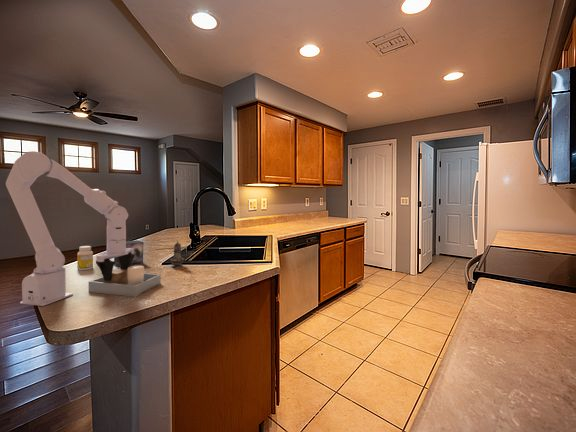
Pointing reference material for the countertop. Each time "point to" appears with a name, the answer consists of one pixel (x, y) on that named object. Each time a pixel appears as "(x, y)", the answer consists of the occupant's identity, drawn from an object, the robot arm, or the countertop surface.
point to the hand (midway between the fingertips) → (116, 277)
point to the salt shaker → (177, 256)
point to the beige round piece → (135, 275)
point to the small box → (137, 252)
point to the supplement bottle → (85, 258)
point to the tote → (125, 286)
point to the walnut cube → (119, 276)
